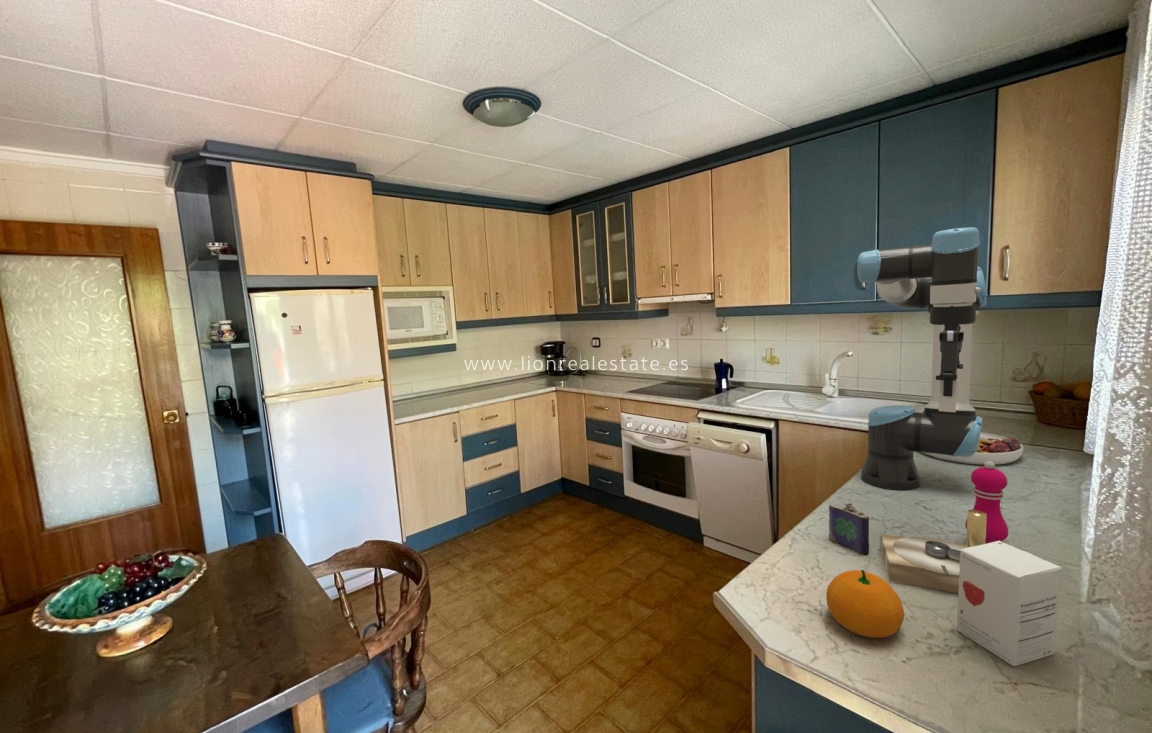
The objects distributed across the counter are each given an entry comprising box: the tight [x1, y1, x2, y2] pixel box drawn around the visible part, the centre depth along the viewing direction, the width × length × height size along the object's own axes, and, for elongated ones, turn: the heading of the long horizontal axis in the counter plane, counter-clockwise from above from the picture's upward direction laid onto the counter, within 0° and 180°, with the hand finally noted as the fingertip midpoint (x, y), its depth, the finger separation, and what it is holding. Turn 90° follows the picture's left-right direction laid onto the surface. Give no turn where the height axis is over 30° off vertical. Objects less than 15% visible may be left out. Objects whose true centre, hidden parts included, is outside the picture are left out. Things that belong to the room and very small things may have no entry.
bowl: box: [922, 431, 1024, 466], centre depth 164 cm, size 30×30×8 cm
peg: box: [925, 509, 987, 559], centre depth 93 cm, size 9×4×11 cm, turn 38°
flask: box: [828, 501, 870, 557], centre depth 108 cm, size 9×3×11 cm, turn 26°
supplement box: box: [956, 541, 1063, 667], centre depth 76 cm, size 9×9×15 cm
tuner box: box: [879, 533, 966, 594], centre depth 96 cm, size 15×18×4 cm
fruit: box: [826, 569, 905, 639], centre depth 82 cm, size 12×12×10 cm
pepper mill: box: [964, 461, 1009, 544], centre depth 103 cm, size 7×7×20 cm
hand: (948, 404), depth 100 cm, fingers open, 13 cm apart
